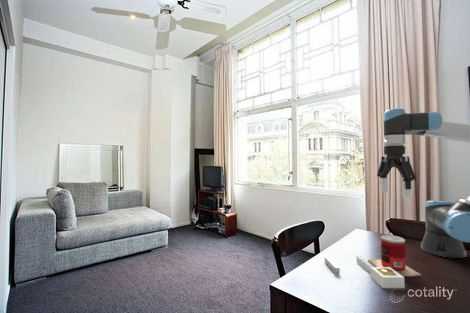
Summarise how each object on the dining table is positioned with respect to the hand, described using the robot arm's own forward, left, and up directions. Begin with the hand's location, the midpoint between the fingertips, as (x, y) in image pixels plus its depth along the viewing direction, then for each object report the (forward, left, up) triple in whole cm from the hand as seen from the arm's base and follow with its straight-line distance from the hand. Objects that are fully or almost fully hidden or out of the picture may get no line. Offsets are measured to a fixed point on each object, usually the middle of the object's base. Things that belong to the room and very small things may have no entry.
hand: (394, 194), depth 98 cm
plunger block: (+17, +20, -27) cm, 37 cm away
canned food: (+8, +10, -26) cm, 29 cm away
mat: (+8, +10, -27) cm, 30 cm away
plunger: (+17, +20, -26) cm, 37 cm away
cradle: (+25, +10, -27) cm, 38 cm away
